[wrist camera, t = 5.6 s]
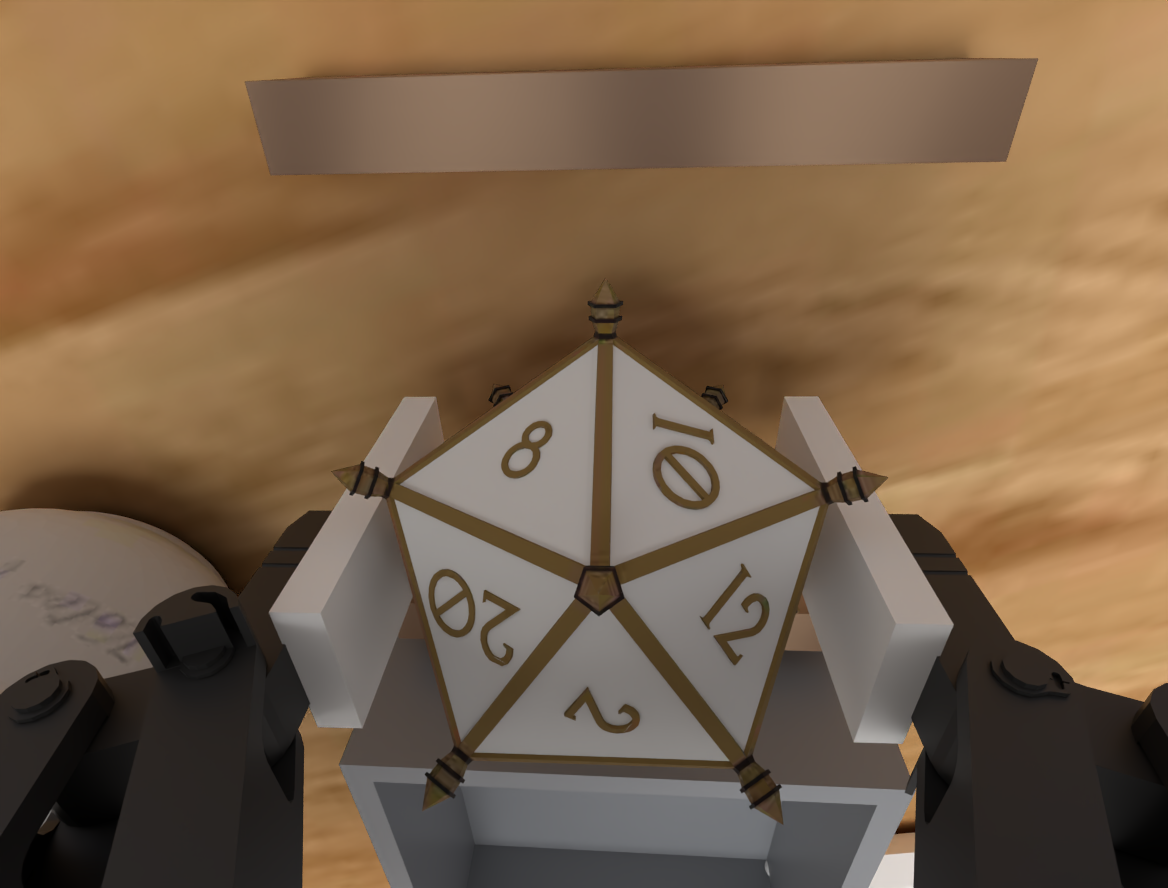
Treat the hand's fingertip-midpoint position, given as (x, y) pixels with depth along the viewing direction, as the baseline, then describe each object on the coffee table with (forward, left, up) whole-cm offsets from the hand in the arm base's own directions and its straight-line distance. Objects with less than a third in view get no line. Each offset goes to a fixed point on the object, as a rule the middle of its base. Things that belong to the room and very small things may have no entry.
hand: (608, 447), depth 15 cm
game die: (0, 0, -1) cm, 1 cm away
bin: (0, -17, -3) cm, 17 cm away
